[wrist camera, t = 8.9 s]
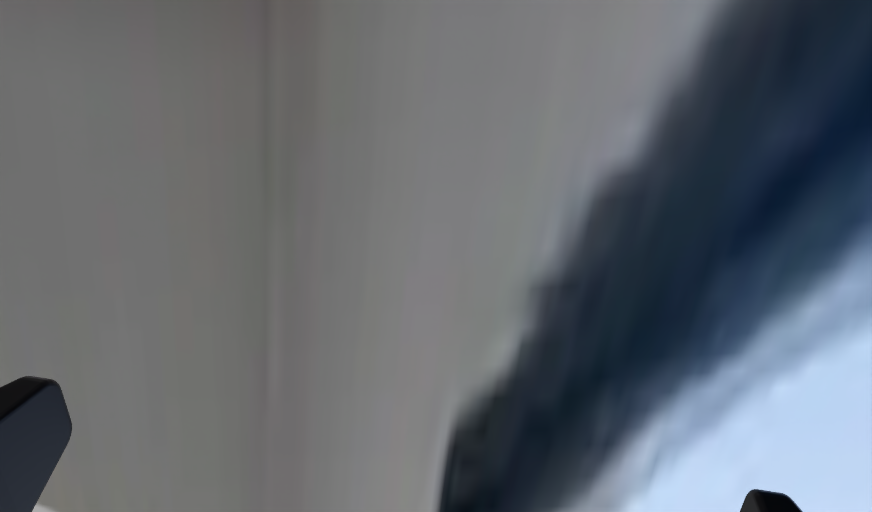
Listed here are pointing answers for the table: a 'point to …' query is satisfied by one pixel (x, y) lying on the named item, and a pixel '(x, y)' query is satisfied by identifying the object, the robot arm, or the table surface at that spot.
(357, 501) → the table surface
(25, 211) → the table surface
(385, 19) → the table surface
